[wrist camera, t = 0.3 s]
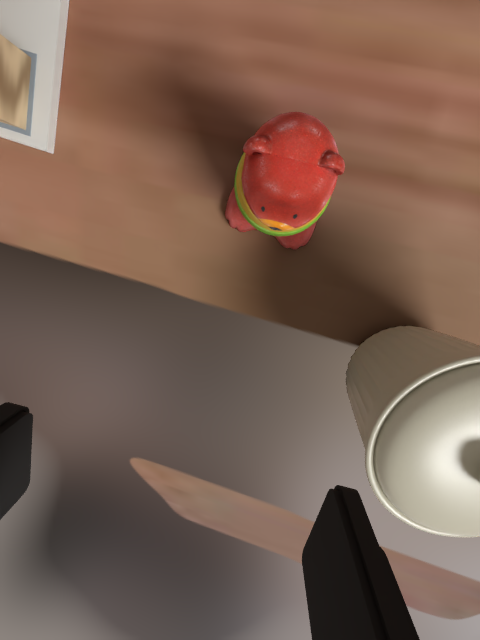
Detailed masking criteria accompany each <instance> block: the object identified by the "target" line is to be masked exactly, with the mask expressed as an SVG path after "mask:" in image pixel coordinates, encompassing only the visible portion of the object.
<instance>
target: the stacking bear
mask: <svg viewBox="0 0 480 640" xmlns="http://www.w3.org/2000/svg"><path fill="white" fill-rule="evenodd" d="M243 151H244V153H243V155H242V157H241V159H240V161H239V163H238V166H237V170H236V174H235V183H234V187H233V189H232V191H231V193H230V196H229V199H228V202H227V206H226V211H225V216H226V218H227V219H228V220H229V225H230V226H231V227H232V228H237V230H238V231H240V232H246V231H250V230H259V231H261V232H263V233H265V234H268V235H273V236H274V237H276V239H277V240H278V241H279V243H280V244H281V245H282V246H283V247H285V248H289V247H290V248H292V249H294V250H295V249H298V248H299V247H300V246H305V245H306V244H307V243H308V241H309V240H310V238H311V236H312V234H313V231H314V228H315V225H316V222H317V220H318V219H319V217H320V216H321V215H322V214H323V212H324V211H325V209H326V207H327V205H328V203H329V201H330V198H331V195H332V193H333V190H334V188H335V185H336V181H337V177H338V175H341V174H343V172H344V169H345V163H344V160H343V158H342V157H341V156H340V155H339V153H338V149H337V145H336V143H335V140H334V138H333V136H332V134H331V133H330V132H329V130H328V129H327V128H326V127H325V125H324V124H323V123H322V122H321V121H319V120H318V119H317V118H315V117H313V116H311V115H309V114H306V113H301V112H289V113H284V114H280V115H278V116H276V117H274V118H272V119H270V120H269V121H267V122H266V123H265V124H264V125H262V126H261V127H260V128H259V129H258V131H257V132H256V133H255V135H254V136H252V137H251V138H249V139H248V140H247V142H246V143H245V144H244V147H243Z"/></svg>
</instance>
